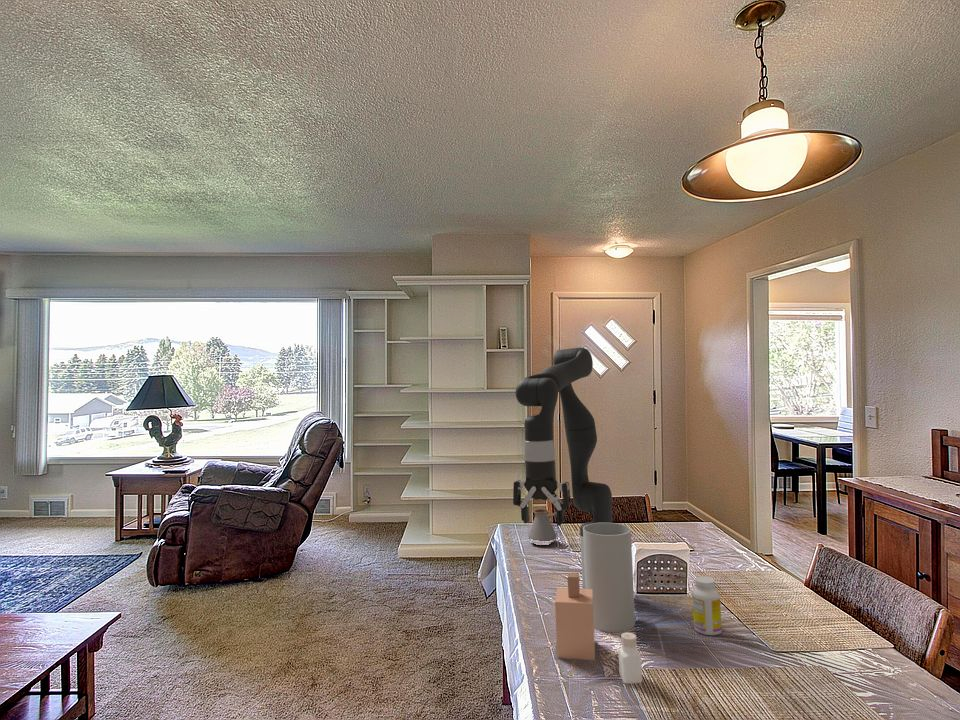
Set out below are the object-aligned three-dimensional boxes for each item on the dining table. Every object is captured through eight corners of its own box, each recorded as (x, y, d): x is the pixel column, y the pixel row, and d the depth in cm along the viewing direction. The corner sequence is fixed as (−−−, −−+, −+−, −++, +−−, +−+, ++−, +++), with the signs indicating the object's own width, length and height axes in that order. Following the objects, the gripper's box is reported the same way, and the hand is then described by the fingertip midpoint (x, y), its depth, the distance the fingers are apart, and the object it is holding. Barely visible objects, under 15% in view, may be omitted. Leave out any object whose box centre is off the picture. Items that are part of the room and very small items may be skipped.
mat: (597, 643, 131) (597, 641, 131) (598, 664, 121) (598, 662, 121) (556, 640, 133) (556, 638, 133) (554, 661, 123) (554, 659, 123)
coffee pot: (535, 549, 205) (533, 510, 206) (523, 541, 216) (522, 504, 217) (584, 542, 212) (582, 504, 213) (570, 534, 223) (569, 498, 224)
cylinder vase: (608, 639, 133) (603, 538, 134) (577, 620, 144) (573, 527, 145) (645, 627, 138) (640, 530, 139) (612, 609, 149) (608, 520, 151)
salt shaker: (636, 675, 116) (634, 630, 117) (643, 685, 112) (640, 639, 113) (618, 676, 116) (616, 631, 117) (624, 686, 112) (622, 640, 113)
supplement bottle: (720, 626, 137) (718, 575, 138) (723, 638, 131) (720, 585, 132) (693, 623, 140) (690, 573, 140) (694, 634, 133) (691, 583, 134)
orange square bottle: (594, 642, 130) (591, 569, 131) (594, 660, 122) (591, 582, 123) (559, 639, 132) (556, 568, 133) (557, 657, 124) (554, 581, 124)
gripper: (571, 456, 133) (574, 521, 132) (517, 455, 138) (520, 518, 138) (564, 461, 126) (567, 530, 125) (507, 459, 132) (510, 525, 131)
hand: (542, 523), depth 132 cm, fingers open, 8 cm apart
